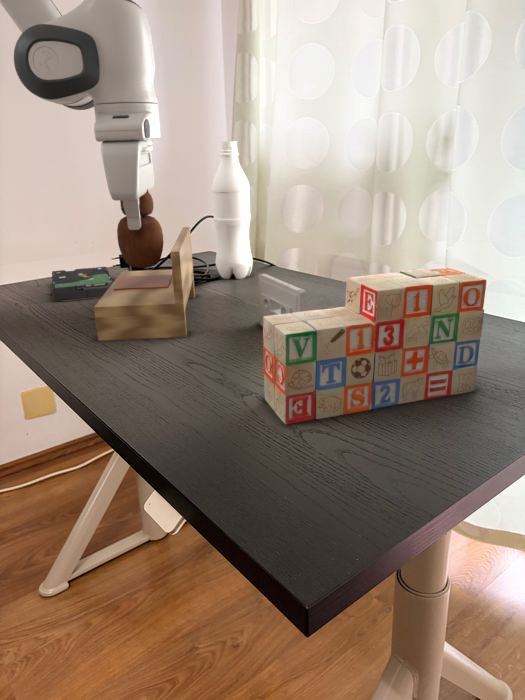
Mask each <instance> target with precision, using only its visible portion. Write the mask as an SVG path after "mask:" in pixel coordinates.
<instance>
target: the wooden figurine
mask: <svg viewBox="0 0 525 700" xmlns="http://www.w3.org/2000/svg"><path fill="white" fill-rule="evenodd" d="M150 193H151V192H149V191H148V188H147V192H146V193H145V194H144V195H142V196H141V197H140V198H139V203H140V204H139V209H140V216H141V223H142V226H141V228H140V229H139V230H130V229H129V228H128V223H127V217H126V214H125V210H124V207H123V200H119V203H120V210H121V212H122V214H123V215H124V217H122V218H121V219H120V220H119V222H118V224H117V229H116V233H117V236H116V237H117V243H118V248H119V251H120V254H121V256H122V259H123V260H124V262H125V263H126V265H128V266H129V267H133V268H136V269H146V268H147V269H148V268H151V267H154V266H156V265H157V264H158V263H159V262H160V260H161V258H162V254H163V251H164V234H163V228H162V226H161V224H160V222H159V221H158V220H157V219H156V218H155V217H154V216H152V213H153V211H154V199H153V197H152V194H150ZM147 215H148V216H147Z"/></svg>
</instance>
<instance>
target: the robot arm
mask: <svg viewBox="0 0 525 700" xmlns="http://www.w3.org/2000/svg"><path fill="white" fill-rule="evenodd" d="M0 5H1V6H2V8H3V9H4V10H5V12H6V13H7V14H8V16H9V17H10V18H11V20H12V21H13V23H14V24H15V25H16V27H17V28H18V29H19V31H20V32H21V34H20V35H19V37H18V38H17V40H16V43H15V46H14V49H13V64H14V69H15V73H16V74H17V78H18V79H19V81H20V83H21V84H22V85H23V86H24V88H26V90H28V91H29V92H30V93H31V94H33V95H34V96H36V97H38V98H40V99H42V100H43V101H46V102H49V103H53V104H56V105H62V106H64V107H66V108H68V109H70V110H74V111H86V110H90V109H92V108H93V109H94V117H95V119H94V120H95V122H94V124H93V132H94V138H95V141H96V142H99V143H100V152H101V158H102V163H103V169H104V174H105V179H106V184H107V189H108V192H109V195H110V197H111V200H113V201H115V202H117V201H118V202H119V201H120V200H123V207H124V210H125V214H126V215H125V217H127V223H128V228H129V229H130V230H139V229H140V228H141V226H142V223H141V216H140V209H139V204H140V203H139V198H140V197H141V196H142V195H144V194H145V193H146V192H147V188H148V192H149V191H151V190H152V189H154V188H155V184H156V183H155V182H156V180H155V169H154V161H153V154H152V153H153V152H154V142H153V141H154V140H158V139H159V140H160V139H161V138H162V133H161V131H162V130H161V120H160V109H159V100H158V97H157V94H156V91H155V90H156V89H155V85H154V84H155V74H156V62H155V61H156V60H155V52H154V45H153V43H154V42H153V38H152V31H151V27H150V22H149V19H148V17H147V14H146V12H145V11H144V9H143V8H142V7H141V6H140V5H139V4H138V3H136V2H135V1H133V0H83V1H82V2H81V3H80V4H79V5H77V6H76V7H74V8H73V9H72V10H70V11H68V12H67V13H65V14H63V15H62V13H61V12H60V10H59V9H58V7H57V6H56V5H55V3H54V2H53V0H0ZM147 216H149V215H147Z"/></svg>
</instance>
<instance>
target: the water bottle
mask: <svg viewBox="0 0 525 700" xmlns="http://www.w3.org/2000/svg"><path fill="white" fill-rule="evenodd" d="M219 146H220V150H219V151H220V153H219V154H218V155H219V156H220V162H219V166H218V168H217V171H216V172H215V175H214V177H213V180H212V183H211V195H212V196H211V197H212V211H213V212H212V213H213V218H212V219H213V222H214V226H215V232H216V234H215V235H216V254H215V267H216V270H217V273H218V274H219V276H220V277H221V279H224V280H229V279H230V278H231V277H232V275H234V277H235V279H236V280H241V279H245V278H246V277H249V276H250V275H251V273H252V270H253V255H252V252H251V251H252V250H251V245H250V223H251V218H252V217H251V197H250V193H251V192H250V190H251V186H250V181H249V180H248V177H247V176H246V173H245V171H244V170H243V168H242V166H241V164H240V160H239V155H240V153H239V152H238V151H239V150H238V141H236V140H232V141H230V140H227V141H220V145H219Z"/></svg>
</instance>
